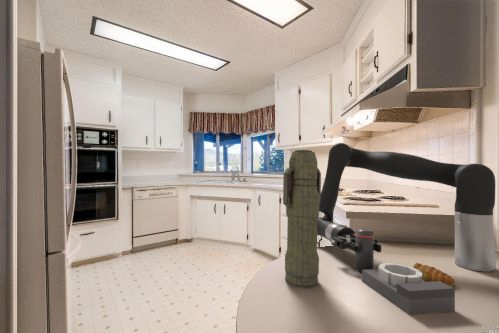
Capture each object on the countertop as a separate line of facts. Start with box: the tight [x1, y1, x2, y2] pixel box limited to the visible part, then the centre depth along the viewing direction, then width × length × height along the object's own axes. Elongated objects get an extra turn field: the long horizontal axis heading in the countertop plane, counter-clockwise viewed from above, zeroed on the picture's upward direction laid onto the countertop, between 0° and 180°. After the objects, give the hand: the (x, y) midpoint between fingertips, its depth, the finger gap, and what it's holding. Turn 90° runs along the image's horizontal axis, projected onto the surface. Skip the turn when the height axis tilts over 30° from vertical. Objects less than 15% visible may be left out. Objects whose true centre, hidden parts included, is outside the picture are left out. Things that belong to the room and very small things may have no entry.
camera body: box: [361, 262, 456, 315], centre depth 59 cm, size 11×16×6 cm
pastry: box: [412, 262, 456, 287], centre depth 68 cm, size 9×7×4 cm
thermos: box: [282, 149, 322, 289], centre depth 66 cm, size 9×12×35 cm
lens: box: [354, 228, 375, 273], centre depth 74 cm, size 5×5×12 cm
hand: (369, 249), depth 72 cm, fingers open, 6 cm apart
